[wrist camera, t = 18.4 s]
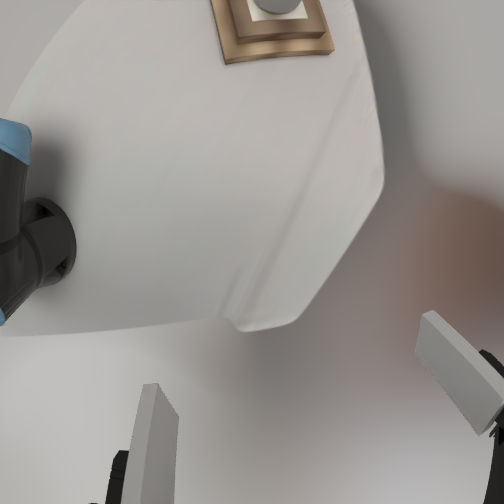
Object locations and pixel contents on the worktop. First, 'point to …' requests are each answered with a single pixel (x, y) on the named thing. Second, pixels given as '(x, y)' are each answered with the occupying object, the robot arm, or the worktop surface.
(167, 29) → the worktop surface
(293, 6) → the beverage can
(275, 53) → the pedestal
